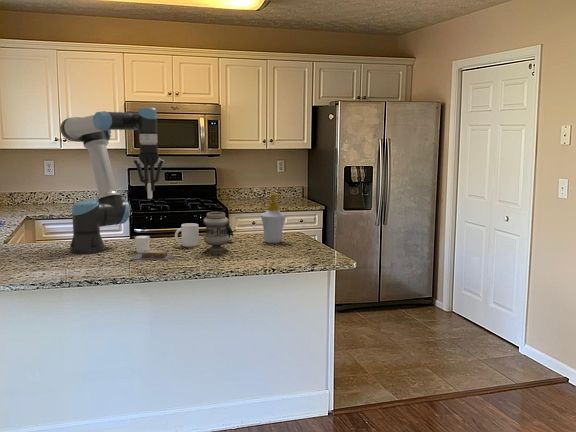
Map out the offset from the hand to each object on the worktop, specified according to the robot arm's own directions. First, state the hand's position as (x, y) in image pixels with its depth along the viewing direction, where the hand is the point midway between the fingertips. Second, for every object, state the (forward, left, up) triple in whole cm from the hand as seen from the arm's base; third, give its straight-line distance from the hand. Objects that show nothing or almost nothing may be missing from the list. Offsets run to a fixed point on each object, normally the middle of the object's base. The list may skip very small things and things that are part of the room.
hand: (150, 198), depth 249 cm
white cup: (-7, +12, -27) cm, 30 cm away
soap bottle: (+53, +37, -27) cm, 70 cm away
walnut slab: (-4, 0, -25) cm, 25 cm away
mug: (+11, +26, -27) cm, 39 cm away
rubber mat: (0, 0, -26) cm, 26 cm away
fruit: (+27, +37, -27) cm, 53 cm away
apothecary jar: (+27, +15, -27) cm, 41 cm away
